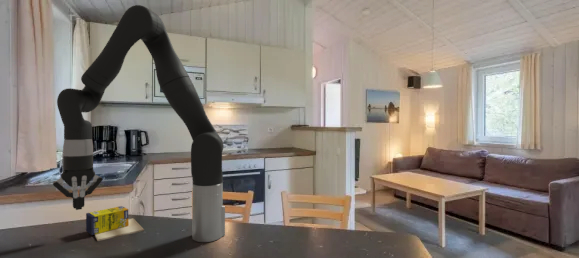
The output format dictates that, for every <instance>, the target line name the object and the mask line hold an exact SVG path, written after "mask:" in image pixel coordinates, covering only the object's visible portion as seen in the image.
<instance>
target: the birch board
mask: <svg viewBox="0 0 579 258" xmlns="http://www.w3.org/2000/svg"><path fill="white" fill-rule="evenodd" d="M128 222H129V226H125V227H121V228H118V229H114V230H110V231H106V232H102V233H98V234H94V237H95V239H96V241H97V242H99V241H100V242H101V241H104V240H105V241H106V240H109V239H113V238H118V237H122V236H127V235H131V234H137V233H140V232H141V233H142V232H144V231H145V229H144V228H143V227H142V225H140V224H139V222H137V221H136V219H135V218H128Z"/></svg>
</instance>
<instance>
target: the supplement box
mask: <svg viewBox="0 0 579 258" xmlns="http://www.w3.org/2000/svg"><path fill="white" fill-rule="evenodd" d="M85 218H86V219H85V224H86V225H85V226H86V227H85V230H86V232H87V233H89V234H90V235H91V236H93V235H94V234H98V233H102V232H106V231H110V230H114V229H118V228H121V227H125V226H129V222H128V219H129V208H127V207H125V206H122V205H120V206H115V207H109V208H105V209H100V210H99V209H98V210H96V211H90V212H86V213H85ZM94 236H95V235H94Z"/></svg>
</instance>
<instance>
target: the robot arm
mask: <svg viewBox="0 0 579 258" xmlns="http://www.w3.org/2000/svg"><path fill="white" fill-rule="evenodd" d="M140 40H141V42H143V44H144V45H145V47H146V49H147V50H148V52H149V53H150V54H149V55H150V56H151V57H152V60H153V63H154V67H155V74H156V79H157V82H158V85H159V87H160V89H161V91H162V93H163V95H164V98H165V99H166V100H167V102H168V104H169V105H170V106H171V108H172V110H174V112H175V113H176V114H177V116H179V118H180V119H181V120H182V122H183V123H184V125H185V126H186V128H187V130H188V132H189V134H190V137H191V139H192V143H191V147H190V171H191V177H192V178H191V179H192V202H191V203H192V206H191V207H192V208H191V210H192V212H191V213H192V218H191V219H192V220H191V221H192V223H191V224H192V227H191V228H192V229H191V235H192V236H191V238H192V240H193V241H195V242H199V243H209V242H214V241H217V240H219V239H221V238H222V237H223V236H226V207H225V206H226V205H224V204H223V198H224V197H223V194H224V193H223V192H224V190H223V188H224V187H223V184H224V183H223V182H224V181H223V180H224V178H223V177H224V175H223V151H224V146H225V145H224V142H223V139H222V137H221V136H220V134H219V133H218V132H217V130H216V129H215V127H214V126H213V124H212V123H211V121H210V119H209V118H208V115H207V114H206V111H205V108H204V106H203V103H202V100H201V98H200V96H199V94H198V92H197V90H196V87H195V85H194V83H193V81H192V80H191V77H190V76H189V74H188V72H187V70H186V69H185V67H184V64H183V63H182V61H181V59H180V57H179V56H178V54H177V52H176V51H175V48H174V47H173V45H172V44H173V43H172V41H171V39H170V36H169V33H168V31H167V29H166V26H165V24H164V22H163V20H162V18H161V17H160V16H159V15H158V14H157V13H155V12H154V11H152V10H151V9H150V8H147V7H146V6H143V5H140V4H136V5H132V6H130V7H128V8H127V9H126V11H124V13H123V15H122V17H121V18H120V20H119V22H118V23H117V25H116V28H115V29H114V31H113V33H112V34H111V36H110V37H109V39H108V41H107V42H106V44H105V46H104V48H103V49H102V50H101V52H100V53H99V54H98V56H97V57H96V58H95V59H94V61H93V62H92V63H91V64H90V65H89V67H88V68H87V69H86V70H85V71H84V73H83V74H82V76H81V78H80V80H81V83H82V84H83V85H84V87H83V88H82V89H77V88H70V87H69V88H64V89H62V90H61V91H60V92H59V94H58V96H57V99H56V104H57V110H58V112H59V115H60V118H61V122H62V125H63V137H64V138H63V147H62V148H63V149H62V162H63V163H62V173H61V175H60V177H59V178H58V179H57V180H53V182H52V185H53V187H55V188H56V189H57V190H58V191H59V192H61V193H62V194H63V195H64V196H65V197H66V198H72V207H73V209H75V210H76V211H78V210H82V209H83V208H85V197H86V196H89V195H91V194H92V193H94V192H95V190H96V189H97V187H98V186H99V185H100V184H101V183H102V181H103V177H102V176H98V175H97V174H96V172H95V171H94V143H93V125H92V122H91V121H89V120H86V119H84V117H83V113H89V112H92V111H94V110H95V109H96V108H97V107H98V106H99V104H100V103H101V101H102V99H103V96H104V93H105V91H106V89H107V88H108V87H109V86H110V84H112V82H113V81H114V80H115V79H116V77H117V76H118V75H119V73H120V71H121V70H122V67H123V65H124V61H125V58H126V57H127V55H128V53H129V51H130V49H131V48H132V47H134V45H135V44H137V42H139V41H140ZM91 181H93V182H92V183H91V184H90V185H89V187H88V188H87V186H88V184H89V183H90V182H91ZM64 182H65V183H66V184H67V185H68V186H69V187H70V188H71V192H70V191H69V190H68V189H66V187H64ZM78 188H79V189H78ZM86 188H87V189H86ZM78 190H79V193H78Z"/></svg>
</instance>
